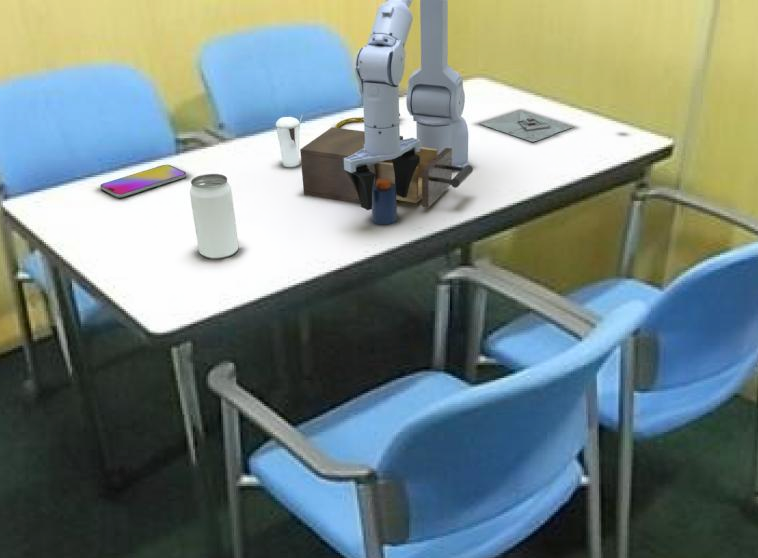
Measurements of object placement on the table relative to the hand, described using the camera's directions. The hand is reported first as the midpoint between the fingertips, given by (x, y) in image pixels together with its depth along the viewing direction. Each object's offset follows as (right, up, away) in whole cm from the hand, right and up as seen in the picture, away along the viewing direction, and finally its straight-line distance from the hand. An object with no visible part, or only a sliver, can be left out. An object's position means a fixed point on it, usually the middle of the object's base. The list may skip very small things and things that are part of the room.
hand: (384, 201), depth 161 cm
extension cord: (-4, +24, +41) cm, 48 cm away
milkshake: (-18, +12, +24) cm, 32 cm away
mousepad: (+34, +23, +38) cm, 56 cm away
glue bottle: (0, -3, +2) cm, 3 cm away
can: (-27, -10, -7) cm, 29 cm away
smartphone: (-45, +7, +18) cm, 49 cm away
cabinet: (-6, +6, +14) cm, 16 cm away
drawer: (+6, +4, +9) cm, 11 cm away
